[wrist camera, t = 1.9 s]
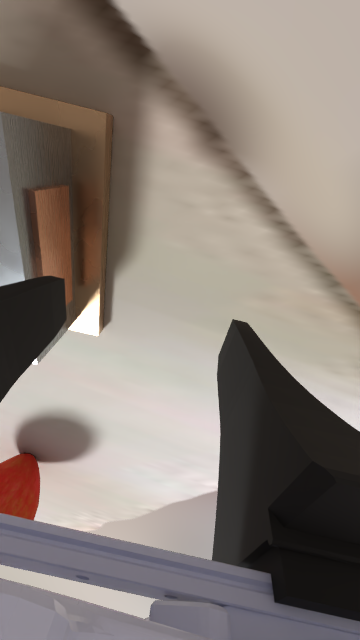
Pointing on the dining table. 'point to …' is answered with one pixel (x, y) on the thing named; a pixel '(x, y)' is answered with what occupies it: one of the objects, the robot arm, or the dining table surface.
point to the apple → (19, 486)
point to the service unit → (56, 201)
